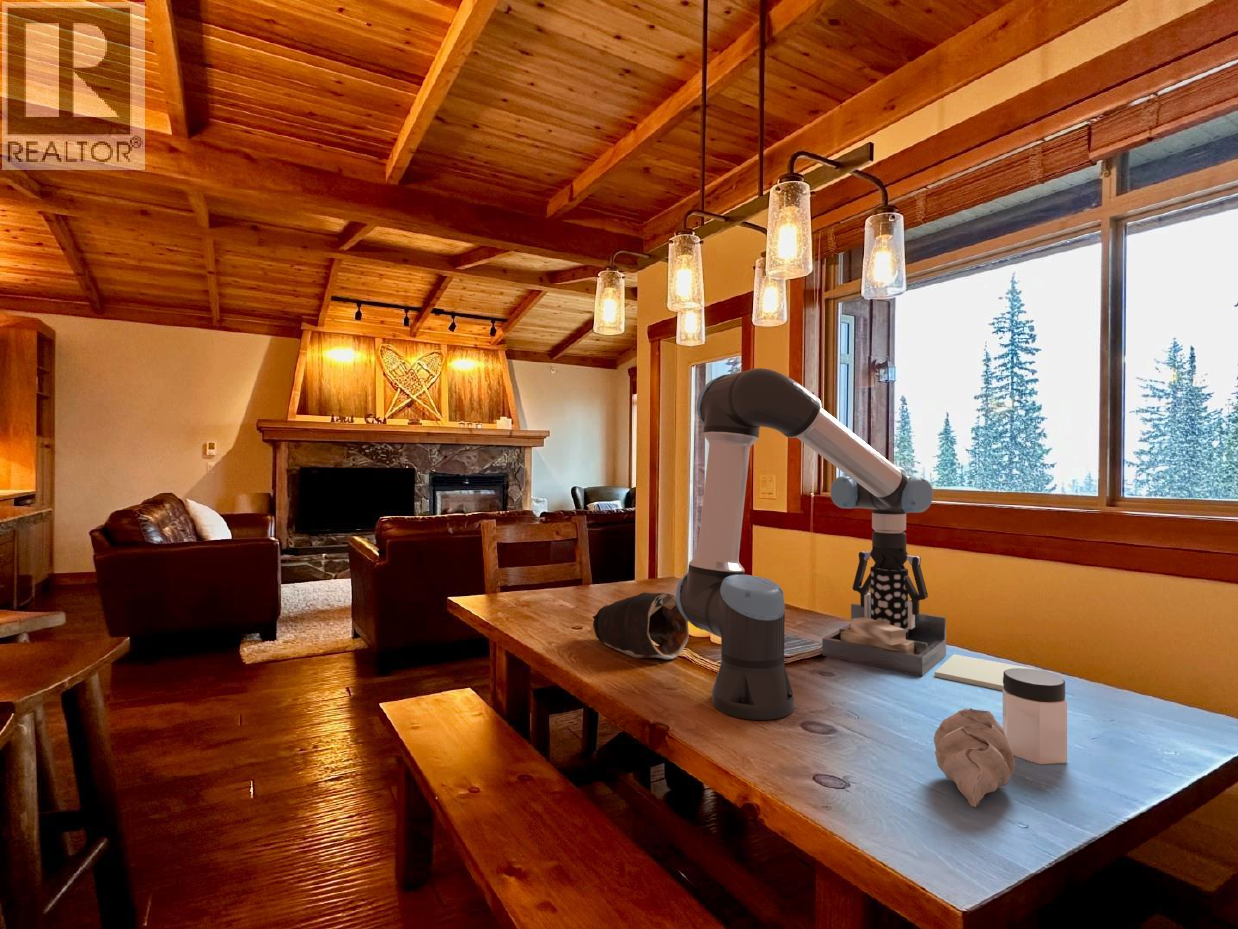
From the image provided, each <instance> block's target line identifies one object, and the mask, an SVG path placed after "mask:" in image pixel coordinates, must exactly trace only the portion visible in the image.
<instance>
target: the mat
mask: <svg viewBox="0 0 1238 929" xmlns="http://www.w3.org/2000/svg"><path fill="white" fill-rule="evenodd" d="M1012 668H1025V669H1034V670H1037V668H1033V667H1028V666H1027V667H1026V666H1021V665H1016V664H1010V663H1005V662H999V661H994V660H989V659H984V658H983V659H982V658H977V657H970V656H965V655H962V654H955V653H954V654H953V655H951V656H950V657H949V658H948V659H947V660H946V661H945V662H944V663H942V664H941V665H940V666H939V667H938V668H937V669H936V670H934V677H936V678H941V679H945V680H949V681H954V682H960V683H964V684H969V685H974V686H977V687H978V686H979V687H983V688H988V689H993V690H998V691H1002V692H1003V673H1004V671H1005V670H1007V669H1012Z"/></svg>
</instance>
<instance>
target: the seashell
mask: <svg viewBox="0 0 1238 929" xmlns="http://www.w3.org/2000/svg"><path fill="white" fill-rule="evenodd" d="M933 743H934V746H935V752H934V754H935V758H936V763H937V766H938V768H939V769H940V770H941V772H943V774H944V775H945V777H946V778H947V779H948V780H950V781H952V782H954V783H955V785H956V787H957V789H958V790H959V792H960V793H961V794H962V795H963V796H964V797H965V798H966V800H967V802H968V804H969V805H970V807H974V808H977V807H978V805H979V804H980V802H981V800H982V799H983V798H984V796H985V795H986V794H989V793H990V794H991V793H994V792H995V791H996V790H997V789H1000V788H1002V787H1004V786H1006V785H1007V784H1008V783H1009V781H1010V780H1011V776H1012V775H1013V773H1014V770H1015V768H1016V759H1015V756H1013V753H1012V751H1011V749H1010V746H1009V744H1008V740H1007V738H1006V735H1005V733H1004V730H1003V726H1001V725H1000V723H999V722H998V721H997V719H996V718H995V716H994V715H993V713H992V712H991V711H989V710H980V709H973V708H964V709H961V710H958V711H957V712H955V713H954V714H953V715H949V716H948V717H947V718H945V719H943V720H942V722H940V724H939V726H938V727H937V729H936V730H935V733H934V736H933Z"/></svg>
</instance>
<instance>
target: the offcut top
mask: <svg viewBox="0 0 1238 929" xmlns="http://www.w3.org/2000/svg"><path fill="white" fill-rule="evenodd" d="M850 624H851V632H854V633H856V634H859V635H862V636H865V637H868V638H871V639H874V640H877V641H880V642H883V643H886V644H889V645H896V644H902V643H906V629H903V628H899V627H896V626H893V625H890V624H886V623H883V622H880V621H876V620H873V619H870V618H867V617H861V618H853V619H851V618H850Z"/></svg>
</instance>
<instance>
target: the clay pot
mask: <svg viewBox="0 0 1238 929" xmlns="http://www.w3.org/2000/svg"><path fill="white" fill-rule="evenodd" d="M591 617H592V619H593V622H592V627H593V631H594V635H595V638H597V640H598V641H600V642H601V643H603V644H604V645H605V646H606V647H607V646H608V647H610V648H612V649H614V650H616V651H617V652H621V653H623V654H625V655H626V656H627V655H628V656H630V657H633V658H636V659H637V658H638V659H640V658H642V659H643V658H647V659H648V658H659V659H663V660H673V659H676V658H678V656H679V654H680V653H681V652H682V651H683V650H684V648H686V645H687V643H688V642H689V635H690V634H689V631H690V630H689V622H688V621H687V620H686V619H685V618H684V617H683V616H682V615H681V613H680V611H679V609H678V607H677V603H676V594H673V593H671V592H670V593H669V592H657V593H655V592H653V593H652V592H641V593H640V594H637V595H633V596H628V597H626V598H624V599H620V600H617V601H614V602H613V603H611V604H609V605H604V606H603V607H601V608H600V609H599V610H598V611H597V613H596V614H595V615H593V616H591ZM654 643H655V644H656V645H657V646H658V648H657V647H656V645H654Z"/></svg>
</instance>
